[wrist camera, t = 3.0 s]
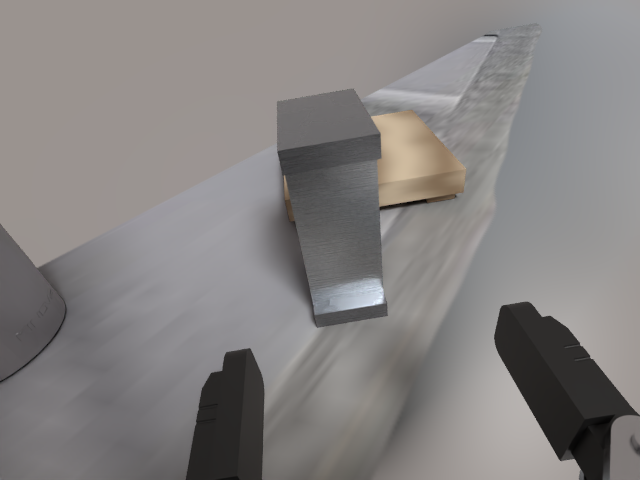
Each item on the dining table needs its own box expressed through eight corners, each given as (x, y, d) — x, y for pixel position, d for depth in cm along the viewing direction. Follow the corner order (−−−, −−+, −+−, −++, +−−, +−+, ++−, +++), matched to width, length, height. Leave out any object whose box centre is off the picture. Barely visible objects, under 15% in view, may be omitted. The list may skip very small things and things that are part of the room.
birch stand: (291, 229, 32) (284, 200, 30) (287, 156, 44) (282, 132, 42) (462, 200, 32) (466, 169, 30) (411, 134, 44) (412, 109, 42)
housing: (316, 327, 23) (277, 150, 16) (309, 256, 29) (277, 101, 21) (387, 315, 23) (380, 133, 16) (365, 247, 29) (353, 88, 21)
